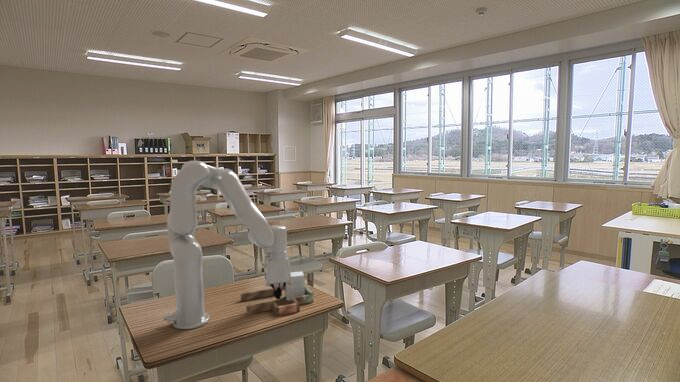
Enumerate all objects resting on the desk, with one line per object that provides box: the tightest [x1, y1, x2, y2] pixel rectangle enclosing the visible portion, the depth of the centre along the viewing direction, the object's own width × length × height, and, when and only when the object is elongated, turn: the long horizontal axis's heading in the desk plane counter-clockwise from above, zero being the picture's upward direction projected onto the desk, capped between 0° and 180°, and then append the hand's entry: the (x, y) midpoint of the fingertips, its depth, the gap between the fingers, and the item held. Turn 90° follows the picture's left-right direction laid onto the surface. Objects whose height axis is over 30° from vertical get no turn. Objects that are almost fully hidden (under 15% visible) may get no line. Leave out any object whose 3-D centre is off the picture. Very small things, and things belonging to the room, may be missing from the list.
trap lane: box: [240, 283, 315, 316], centre depth 156 cm, size 27×28×4 cm
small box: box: [284, 271, 306, 302], centre depth 159 cm, size 8×6×10 cm
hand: (277, 297), depth 156 cm, fingers closed
